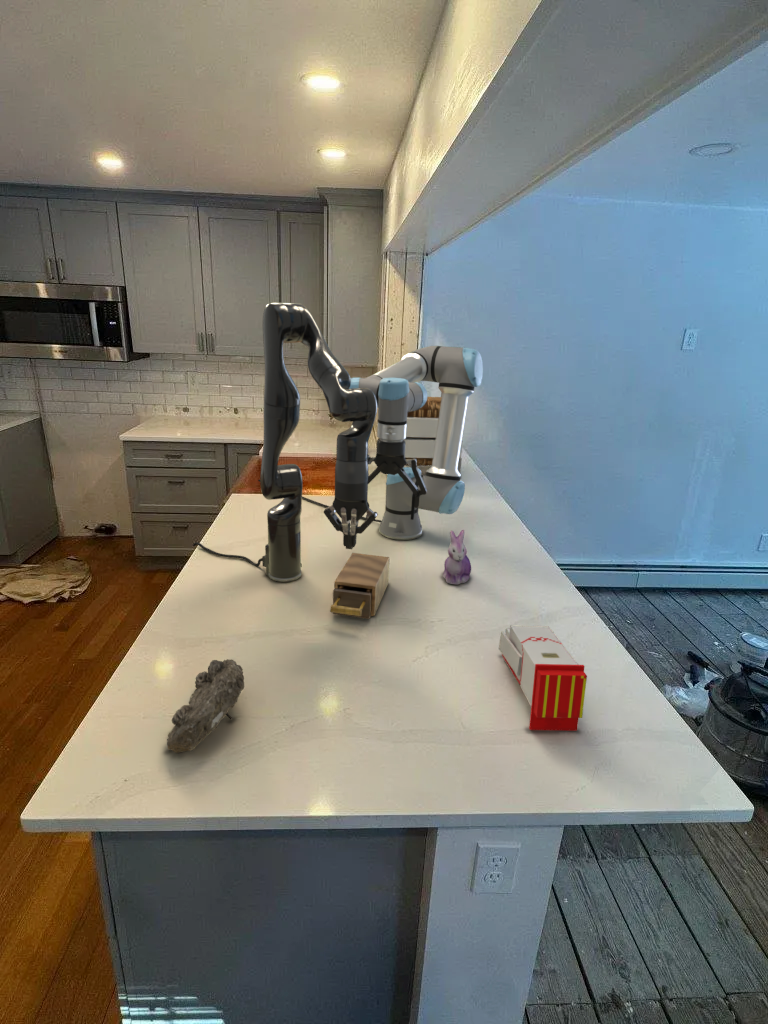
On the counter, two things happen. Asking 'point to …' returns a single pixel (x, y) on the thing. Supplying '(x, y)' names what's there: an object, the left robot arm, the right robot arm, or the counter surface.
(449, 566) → the figurine
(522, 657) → the toy
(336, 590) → the drawer
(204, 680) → the fossil
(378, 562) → the cabinet
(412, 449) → the grey slatted crate
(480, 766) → the counter surface
